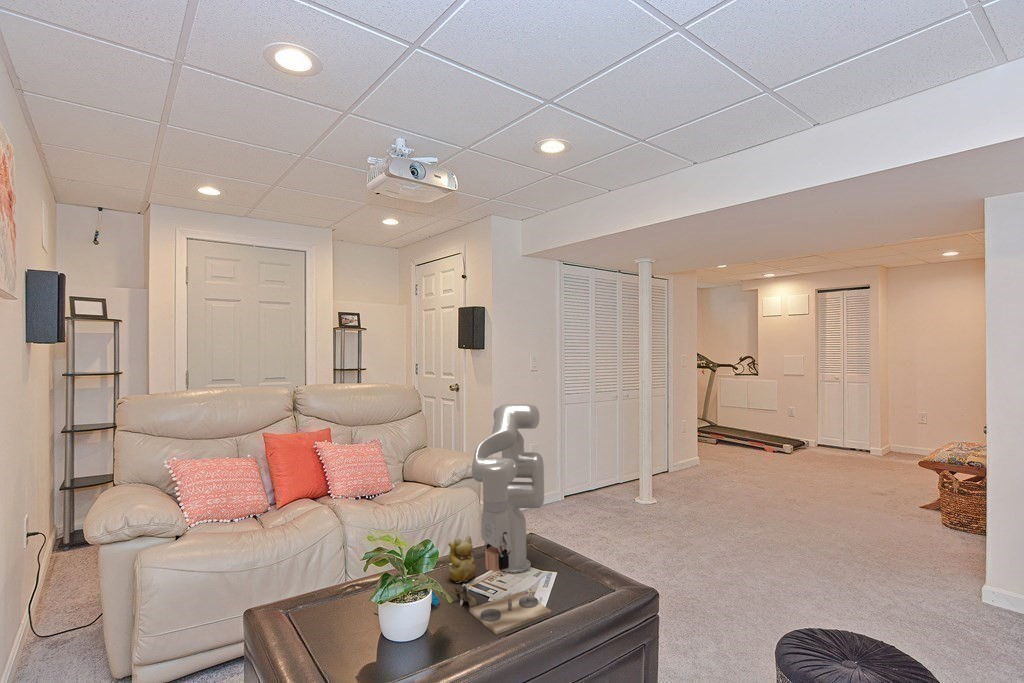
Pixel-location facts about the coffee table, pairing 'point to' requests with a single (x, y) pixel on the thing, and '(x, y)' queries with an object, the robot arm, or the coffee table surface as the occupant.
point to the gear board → (509, 612)
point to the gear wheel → (492, 558)
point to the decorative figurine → (461, 559)
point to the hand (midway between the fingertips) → (497, 563)
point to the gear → (434, 599)
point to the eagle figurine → (465, 597)
